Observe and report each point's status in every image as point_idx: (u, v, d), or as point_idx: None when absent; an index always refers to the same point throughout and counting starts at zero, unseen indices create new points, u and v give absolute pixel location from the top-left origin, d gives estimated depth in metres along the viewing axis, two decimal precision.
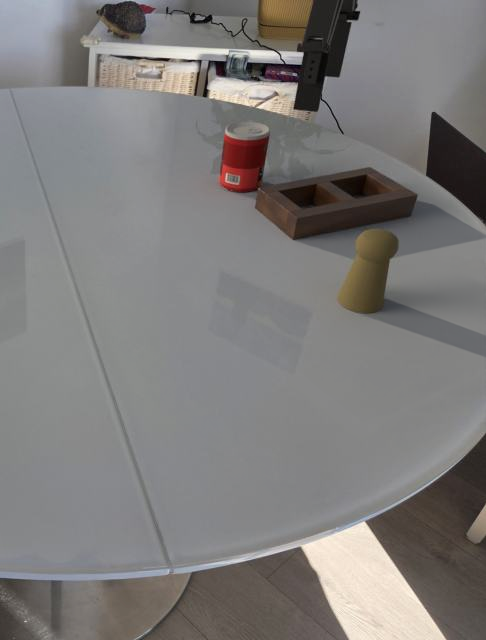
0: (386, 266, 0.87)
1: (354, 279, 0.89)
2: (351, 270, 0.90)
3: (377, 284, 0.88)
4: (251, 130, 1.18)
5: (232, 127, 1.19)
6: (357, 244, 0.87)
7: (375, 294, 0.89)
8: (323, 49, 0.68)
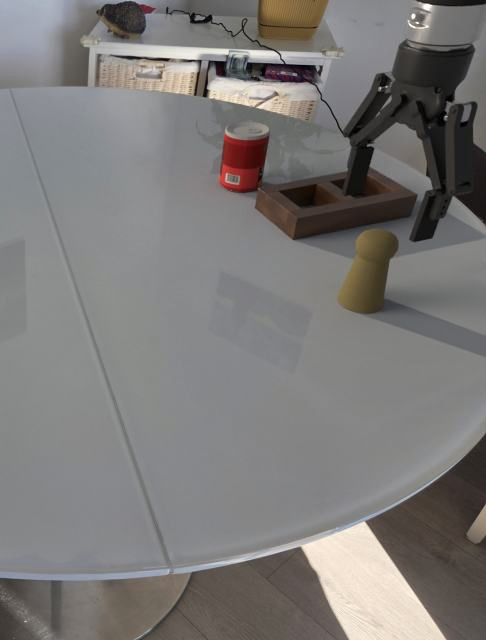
0: (386, 266, 0.87)
1: (354, 279, 0.89)
2: (351, 270, 0.90)
3: (377, 284, 0.88)
4: (251, 130, 1.18)
5: (232, 127, 1.19)
6: (357, 244, 0.87)
7: (375, 294, 0.89)
8: (471, 191, 0.72)
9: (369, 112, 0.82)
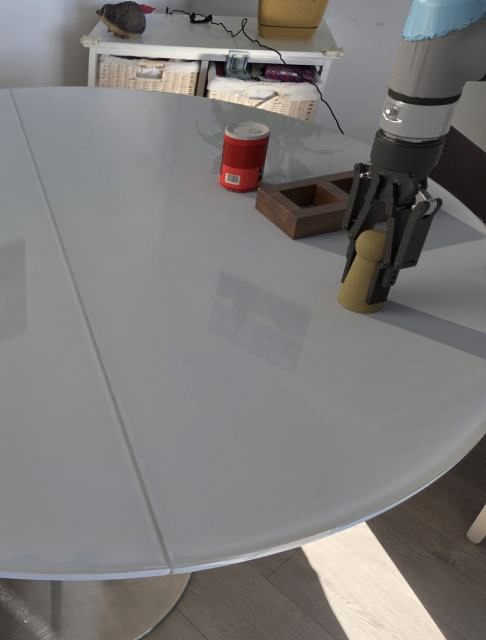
0: None
1: (354, 279, 0.89)
2: (351, 270, 0.90)
3: None
4: (251, 130, 1.18)
5: (232, 127, 1.19)
6: (357, 244, 0.87)
7: None
8: (413, 266, 0.82)
9: (359, 201, 0.88)
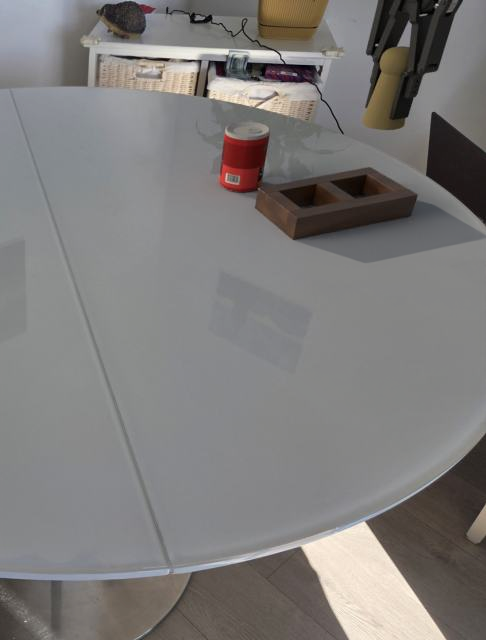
0: None
1: (378, 97, 0.96)
2: (375, 89, 0.97)
3: None
4: (251, 130, 1.18)
5: (232, 127, 1.19)
6: (382, 60, 0.94)
7: None
8: (435, 71, 0.90)
9: (383, 22, 0.95)
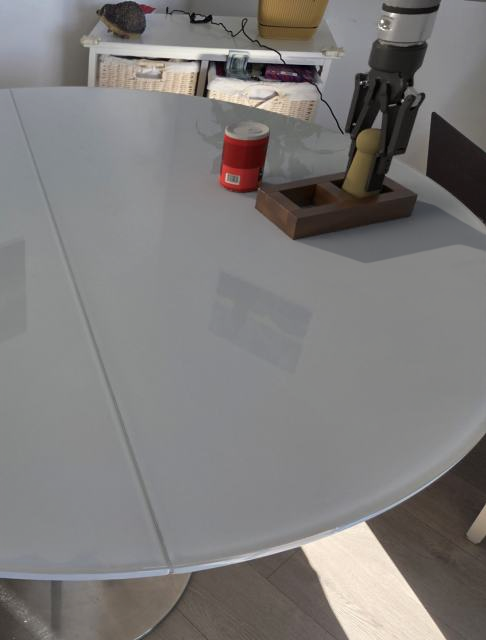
0: None
1: (355, 171, 1.09)
2: (352, 164, 1.09)
3: None
4: (251, 130, 1.18)
5: (232, 127, 1.19)
6: (357, 140, 1.07)
7: None
8: (403, 153, 1.02)
9: (359, 106, 1.07)
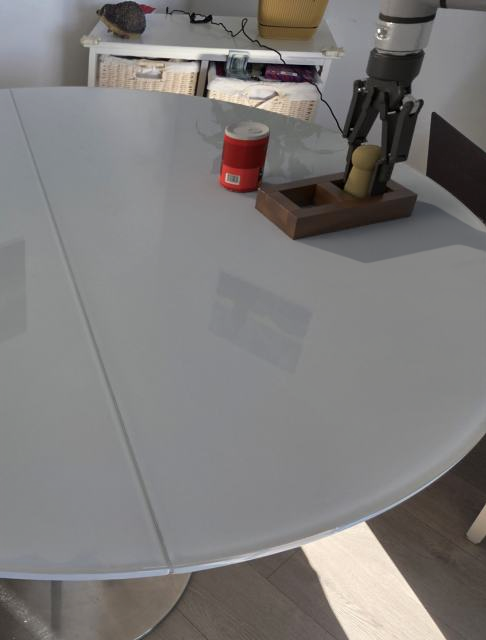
0: None
1: (351, 186, 1.11)
2: (348, 179, 1.11)
3: None
4: (251, 130, 1.18)
5: (232, 127, 1.19)
6: (353, 156, 1.08)
7: None
8: None
9: (357, 112, 1.09)
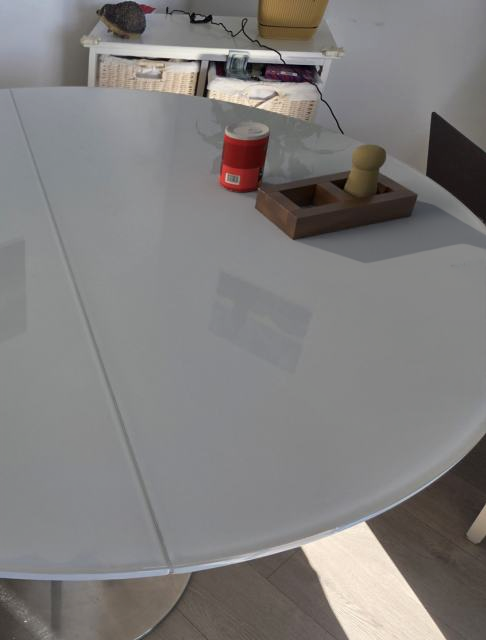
0: (376, 174, 1.08)
1: (351, 186, 1.11)
2: (348, 179, 1.11)
3: (369, 190, 1.09)
4: (251, 130, 1.18)
5: (232, 127, 1.19)
6: (353, 156, 1.08)
7: None
8: None
9: None
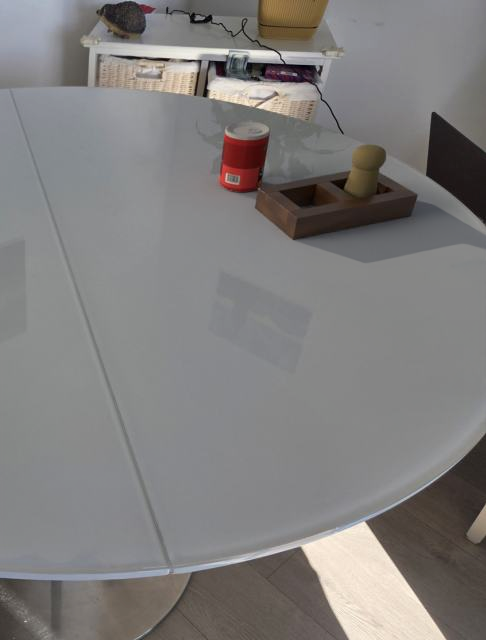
0: (376, 174, 1.08)
1: (351, 186, 1.11)
2: (348, 179, 1.11)
3: (369, 190, 1.09)
4: (251, 130, 1.18)
5: (232, 127, 1.19)
6: (353, 156, 1.08)
7: None
8: None
9: None
